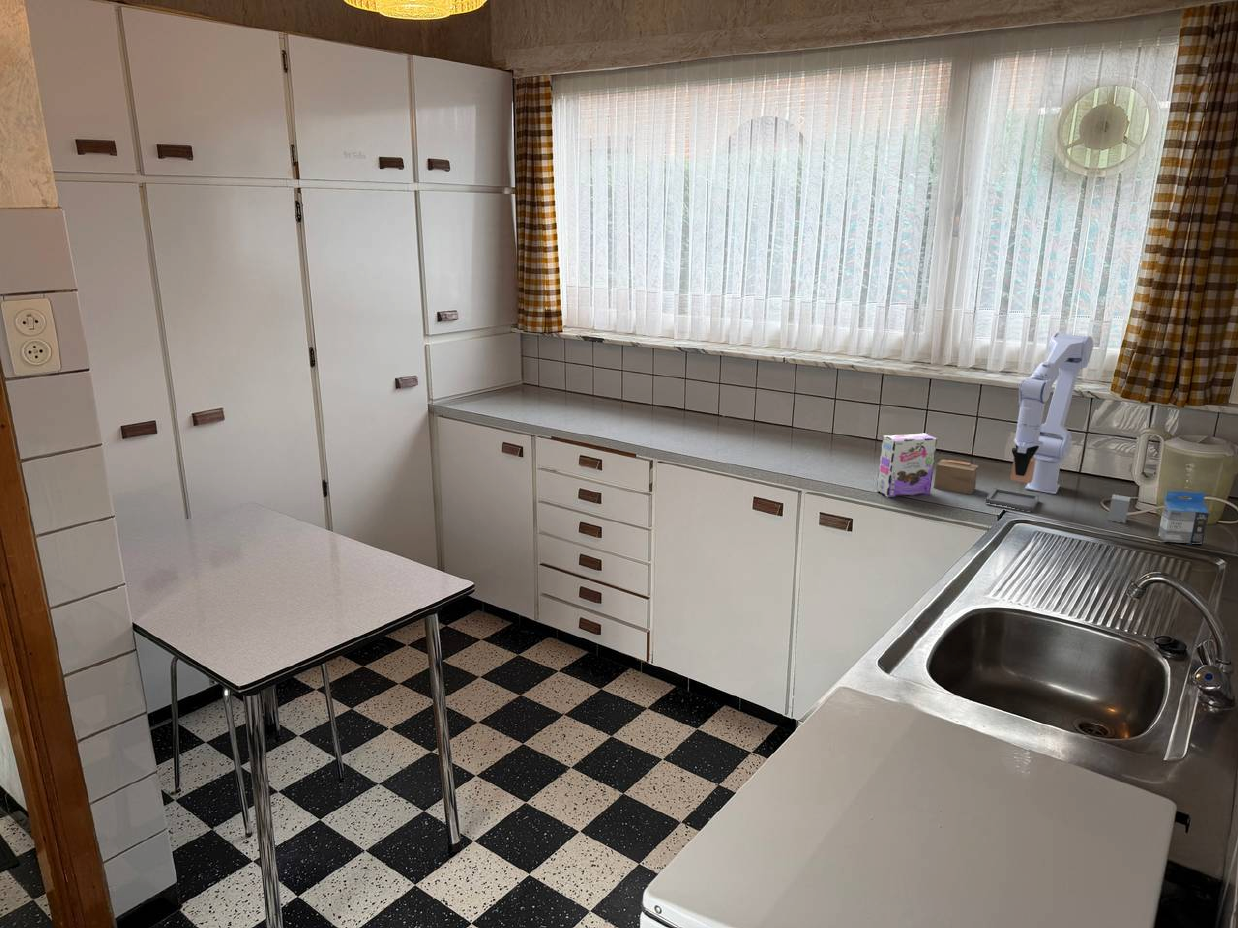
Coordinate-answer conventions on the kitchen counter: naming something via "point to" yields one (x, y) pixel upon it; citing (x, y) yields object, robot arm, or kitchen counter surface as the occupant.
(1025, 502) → the charcoal tray
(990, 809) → the kitchen counter surface
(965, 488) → the box
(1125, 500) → the slate grey block
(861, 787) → the kitchen counter surface
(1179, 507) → the label tape box
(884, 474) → the candy box
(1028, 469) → the terracotta block
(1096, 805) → the kitchen counter surface
